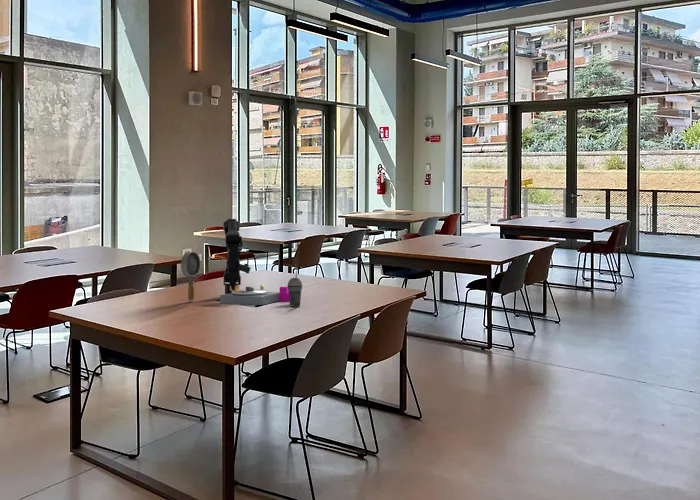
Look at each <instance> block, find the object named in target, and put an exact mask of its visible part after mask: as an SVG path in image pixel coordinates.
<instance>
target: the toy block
mask: <svg viewBox="0 0 700 500" xmlns="http://www.w3.org/2000/svg"><path fill="white" fill-rule="evenodd" d="M279 292H280V300H279V302H288V303H290V302H289V291H288V286H279Z"/></svg>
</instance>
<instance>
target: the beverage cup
mask: <svg viewBox="0 0 700 500" xmlns="http://www.w3.org/2000/svg"><path fill="white" fill-rule="evenodd" d="M298 271H299V268H296V273H295V277H291V278H290V279H289V280H288V282H287V287H288V291H289V302H288V303H289V305H290V306H289V307H290V308H291V309H292V308H293V309H298V308H300V307H301V298H302V297H301V296H302V289H303V283H302V280H300V278H298Z"/></svg>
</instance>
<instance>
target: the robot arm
mask: <svg viewBox="0 0 700 500" xmlns="http://www.w3.org/2000/svg"><path fill="white" fill-rule="evenodd" d="M222 225H223V226H222V227H223V228H222V229H223V230H222V231H223V232H224V235H225V248H227V266H226V268H225V270H224V273H223V281H222V282H223V286H224V294H229V293H232V291H230V285H231V288H232V290H235V285H239V286H241V283H242V276H241V272H244V273H245V274H250V271H251V267H250V266H249V264H248V263H244V264H243V263H241V261H240V256H241V251H240V249H239V248H242V247H243V237H242V236H241V235H240V232H239V231H240V221H238V220H237V219H235V218H228V219H226V221H223V224H222Z"/></svg>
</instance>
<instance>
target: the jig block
mask: <svg viewBox="0 0 700 500" xmlns="http://www.w3.org/2000/svg"><path fill="white" fill-rule="evenodd" d="M275 302H280V291H268V293H267V294H262V295H235V294H232V293H229V294H225V293H223V294H220V295H219V304H227V305H228V304H230V305H231V304H233V305H234V304H235V305H255V306H258V305H259V306H264V305H268V304H272V303H275Z"/></svg>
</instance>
